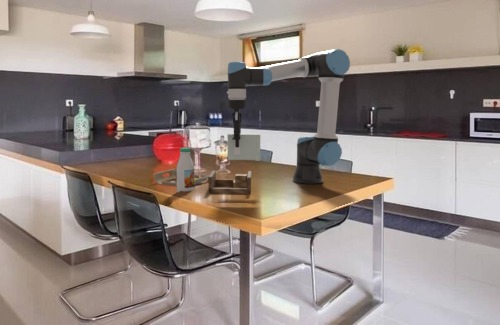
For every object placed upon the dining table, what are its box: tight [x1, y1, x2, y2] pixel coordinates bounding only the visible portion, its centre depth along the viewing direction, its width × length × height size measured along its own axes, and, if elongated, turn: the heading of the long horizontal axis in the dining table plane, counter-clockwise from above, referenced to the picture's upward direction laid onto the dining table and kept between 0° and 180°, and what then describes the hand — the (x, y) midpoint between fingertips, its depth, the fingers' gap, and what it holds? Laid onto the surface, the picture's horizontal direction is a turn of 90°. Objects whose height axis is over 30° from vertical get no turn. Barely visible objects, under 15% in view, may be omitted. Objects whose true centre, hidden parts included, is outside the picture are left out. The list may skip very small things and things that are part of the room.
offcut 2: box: [233, 180, 247, 188], centre depth 181 cm, size 6×5×3 cm
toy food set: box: [153, 167, 209, 187], centre depth 198 cm, size 25×18×8 cm
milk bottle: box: [176, 147, 195, 193], centre depth 175 cm, size 8×8×20 cm
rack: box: [207, 170, 252, 195], centre depth 177 cm, size 18×16×8 cm
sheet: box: [227, 133, 261, 161], centre depth 172 cm, size 14×4×11 cm, turn 89°
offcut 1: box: [234, 173, 248, 183], centre depth 180 cm, size 5×4×3 cm
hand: (237, 153), depth 172 cm, fingers closed on sheet, 3 cm apart
